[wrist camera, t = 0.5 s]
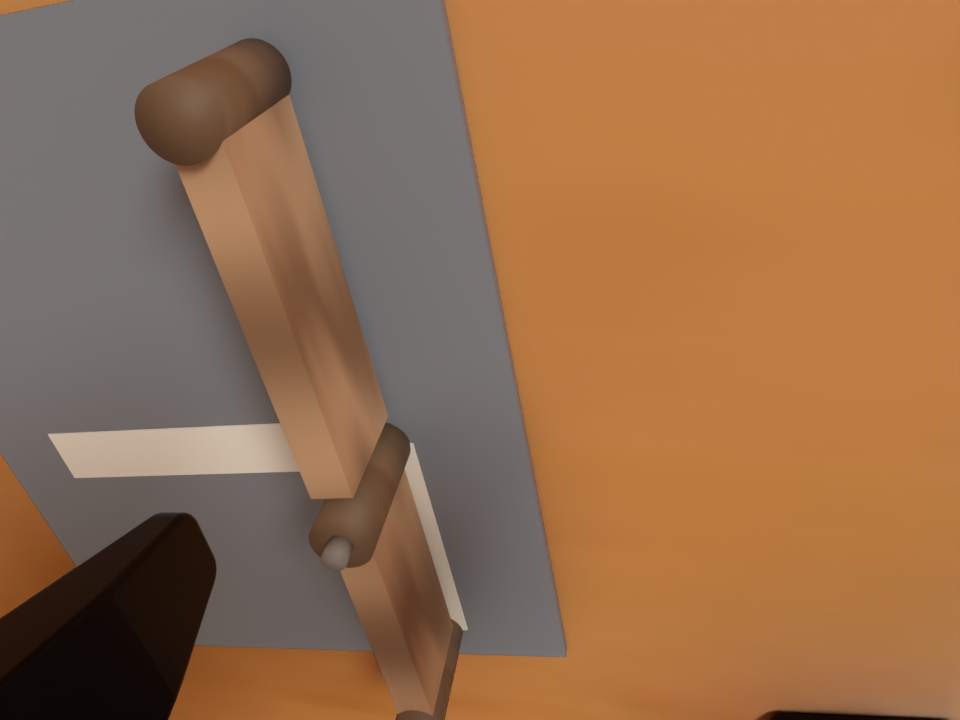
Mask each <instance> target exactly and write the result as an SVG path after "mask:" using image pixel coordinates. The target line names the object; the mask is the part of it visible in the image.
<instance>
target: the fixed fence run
mask: <svg viewBox="0 0 960 720" xmlns="http://www.w3.org/2000/svg"><path fill="white" fill-rule="evenodd" d="M410 451H411V447H410V441H409V439H408V437H407V436H406V434H405V433H404V432H403V431H402V430H400V429H399V428H398V427H396V426H394V425H392V424H389V423H385V425H384V427H383V430H382V432H381V434H380V437H379V439H378V441H377V444H376V446H375V448H374V451H373V453H372V455H371V458H370V460H369V462H368V465H367V467H366V469H365V472H364V474H363V476H362V479H361V481H360V483H359V486H358V488H357V490H356V492H355V495H354V497H353V498H335V499H325V500H324V502H323V504H322V507H321V509H320V511H319V513H318V515H317V517H316V519H315V521H314V524H313V526H312V528H311V530H310V532H309V537H308V539H309V543H310V546H311V548H312V549H313V551H314V552H315V553H316V554H317V555H318V556H319V557H320V558H321V562H322V564H323V565H324V566H325V567H326V568H328V569H330V570H333V571H340V572H341V574H342V577H343V579H344V582H345V584H346V586H347V589H348V591H349V594H350V596H351V599H352V601H353V604H354V606H355V609H356V611H357V614H358V616H359V619H360V621H361V623H362V626H363V628H364V631H365V633H366V636H367V638H368V641H369V643H370V646H371V648H372V651H373V653H374V655H375V658H376V660H377V663H378V665H379V668H380V670H381V673H382V675H383V678H384V680H385V683H386V685H387V687H388V690H389V692H390V695H391V697H392V700H393V702H394V705H395V707H396V710H397V712H398V713H397V716H396V720H445V715H446V710H447V706H448V701H449V696H450V692H451V687H452V682H453V678H454V673H455V668H456V664H457V659H458V654H459V650H460V645H461V640H462V636H463V630H462V628H461V626H460V625H459V624H458V623H457V622H456V621H454V620H452V619H451V618H450V615H449V611H448V608H447V605H446V602H445V598H444V595H443V592H442V589H441V585H440V582H439V579H438V576H437V572H436V569H435V566H434V563H433V559H432V556H431V553H430V550H429V546H428V543H427V540H426V537H425V533H424V530H423V527H422V524H421V521H420V517H419V514H418V511H417V508H416V504H415V501H414V498H413V495H412V491H411V488H410V485H409V482H408V478H407V475H406V472H405V466H406V463H407V460H408V458H409V455H410Z"/></svg>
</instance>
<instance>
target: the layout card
mask: <svg viewBox="0 0 960 720" xmlns="http://www.w3.org/2000/svg"><path fill="white" fill-rule="evenodd" d="M246 38H256V39H261V40H264V41H266V42H268V43H270V44H271V45H273V46H274V47H275V48H276V49H277V50H278V51H279V52H280V53H281V54H282V55H283V57H284V58H285V60H286V62H287V64H288V66H289V69H290V72H291V78H292V85H291V90H290V94H289V96H290V99H291V102H292V105H293V108H294V112H295V115H296V118H297V121H298V125H299V128H300V131H301V134H302V138H303V141H304V144H305V147H306V151H307V154H308V157H309V160H310V164H311V167H312V170H313V173H314V177H315V180H316V183H317V186H318V190H319V193H320V196H321V199H322V203H323V206H324V209H325V212H326V216H327V219H328V222H329V225H330V229H331V232H332V235H333V238H334V242H335V245H336V248H337V251H338V254H339V258H340V261H341V264H342V267H343V271H344V274H345V277H346V280H347V284H348V287H349V290H350V293H351V297H352V300H353V303H354V306H355V310H356V313H357V316H358V319H359V323H360V326H361V329H362V332H363V336H364V339H365V342H366V345H367V349H368V352H369V355H370V358H371V362H372V365H373V368H374V371H375V375H376V378H377V381H378V384H379V388H380V391H381V394H382V397H383V400H384V404H385V407H386V410H387V413H388V418H387V420H386V423H389V424H392V425H394V426H396V427H398V428H399V429H400V430H402V431H403V432H404V433H405V434H406V436H407V437H408V439H409V441H410V447H411V451H410V455H409V458H408V460H407V463H406V466H405V472H406V475H407V478H408V482H409V485H410V488H411V491H412V495H413V498H414V501H415V504H416V508H417V511H418V514H419V517H420V521H421V524H422V527H423V530H424V533H425V537H426V540H427V543H428V546H429V550H430V553H431V556H432V559H433V563H434V566H435V569H436V572H437V576H438V579H439V582H440V585H441V589H442V592H443V595H444V598H445V602H446V605H447V608H448V611H449V615H450V618H451V619H452V620H454V621H456V622H457V623H458V624H459V625H460V626H461V628H462V630H463V636H462V640H461V645H460V650H459V654H474V655H505V656H537V657H566V654H567V646H566V641H565V635H564V630H563V625H562V620H561V614H560V609H559V604H558V598H557V593H556V588H555V583H554V577H553V572H552V567H551V562H550V556H549V551H548V546H547V540H546V535H545V530H544V525H543V519H542V514H541V509H540V504H539V498H538V493H537V488H536V482H535V477H534V472H533V467H532V461H531V456H530V451H529V446H528V440H527V435H526V430H525V424H524V419H523V414H522V409H521V403H520V398H519V393H518V388H517V382H516V377H515V372H514V367H513V361H512V356H511V351H510V345H509V340H508V335H507V330H506V324H505V319H504V314H503V309H502V303H501V298H500V293H499V287H498V282H497V277H496V272H495V266H494V261H493V256H492V251H491V245H490V240H489V235H488V229H487V224H486V219H485V214H484V208H483V203H482V198H481V193H480V187H479V182H478V177H477V171H476V166H475V161H474V156H473V150H472V145H471V140H470V135H469V129H468V124H467V119H466V113H465V108H464V103H463V98H462V92H461V87H460V82H459V77H458V71H457V66H456V61H455V56H454V50H453V45H452V40H451V34H450V29H449V24H448V19H447V13H446V8H445V3H444V0H72V1H67V2H62V3H57V4H53V5H48V6H43V7H38V8H33V9H28V10H24V11H19V12H14V13H9V14H4V15H0V454H1V455H2V457H3V458H4V459H5V461H6V462H7V464H8V465H9V467H10V468H11V470H12V471H13V473H14V474H15V476H16V477H17V479H18V480H19V482H20V483H21V485H22V486H23V488H24V489H25V491H26V492H27V494H28V495H29V497H30V498H31V500H32V501H33V503H34V504H35V506H36V507H37V509H38V510H39V512H40V513H41V515H42V516H43V518H44V519H45V521H46V522H47V523H48V525H49V526H50V528H51V529H52V531H53V532H54V534H55V535H56V537H57V538H58V540H59V541H60V543H61V544H62V546H63V547H64V549H65V550H66V552H67V553H68V555H69V556H70V558H71V559H72V561H73V562H74V564H75V565H76V567H77V566H79V565H80V564H82V563H83V562H85V561H86V560H88V559H89V558H91V557H92V556H93V555H95V554H96V553H98V552H99V551H101V550H102V549H104V548H105V547H107V546H108V545H110V544H111V543H113V542H114V541H116V540H117V539H119V538H120V537H122V536H123V535H125V534H126V533H128V532H129V531H130V530H132V529H133V528H135V527H136V526H138V525H139V524H141V523H142V522H144V521H145V520H147V519H148V518H150V517H151V516H153V515H155V514H157V513H162V512H186V513H189V514H191V515H192V516H193V517H195V519H196V520H197V522H198V524H199V526H200V528H201V530H202V532H203V534H204V536H205V538H206V540H207V542H208V544H209V546H210V548H211V550H212V553H213V555H214V557H215V559H216V565H217V572H216V579H215V583H214V586H213V589H212V592H211V595H210V598H209V601H208V604H207V608H206V611H205V614H204V617H203V620H202V623H201V626H200V629H199V632H198V635H197V639H196V642H195V645H194V646H221V647H252V648H284V649H316V650H347V651H372V648H371V646H370V643H369V641H368V638H367V636H366V633H365V631H364V628H363V626H362V623H361V621H360V619H359V616H358V614H357V611H356V609H355V606H354V604H353V601H352V599H351V596H350V594H349V591H348V589H347V586H346V584H345V582H344V579H343V577H342V574H341V572H340V571H333V570H330V569H328V568H326V567H325V566H324V565H323V564H322V562H321V558H320V557H319V556H318V555H317V554H316V553H315V552H314V551H313V549H312V548H311V546H310V543H309V539H308V537H309V532H310V530H311V528H312V526H313V524H314V521H315V519H316V517H317V515H318V513H319V511H320V509H321V507H322V504H323V502H324V500H325V499H311V498H310V495H309V493H308V490H307V488H306V485H305V483H304V481H303V478H302V476H301V473H300V471H299V468H298V466H297V463H296V461H295V458H294V456H293V453H292V451H291V449H290V446H289V444H288V441H287V439H286V436H285V434H284V431H283V429H282V426H281V424H280V421H279V419H278V417H277V414H276V412H275V409H274V407H273V404H272V402H271V399H270V397H269V394H268V392H267V389H266V387H265V384H264V382H263V380H262V377H261V375H260V372H259V370H258V367H257V365H256V362H255V360H254V357H253V355H252V352H251V350H250V348H249V345H248V343H247V340H246V338H245V335H244V333H243V330H242V328H241V325H240V323H239V320H238V318H237V316H236V313H235V311H234V308H233V306H232V303H231V301H230V298H229V296H228V293H227V291H226V288H225V286H224V283H223V281H222V279H221V276H220V274H219V271H218V269H217V266H216V264H215V261H214V259H213V256H212V254H211V251H210V249H209V247H208V244H207V242H206V239H205V237H204V234H203V232H202V229H201V227H200V224H199V222H198V219H197V217H196V215H195V212H194V210H193V207H192V205H191V202H190V200H189V197H188V195H187V192H186V190H185V187H184V185H183V182H182V180H181V178H180V175H179V173H178V170H177V168H176V165H175V164H173V163H170V162H168V161H166V160H164V159H163V158H161V157H160V156H158V155H157V154H156V153H155V152H153V151H152V150H151V149H150V147H149V146H148V145H147V144H146V143H145V141H144V140H143V138H142V136H141V135H140V132H139V130H138V128H137V125H136V121H135V103H136V99H137V97H138V95H139V93H140V92H141V90H142V89H143V88H144V87H146V86H147V85H149V84H151V83H153V82H155V81H157V80H159V79H161V78H163V77H165V76H167V75H170V74H172V73H174V72H176V71H178V70H180V69H182V68H184V67H186V66H188V65H190V64H192V63H195V62H197V61H199V60H201V59H203V58H205V57H207V56H209V55H211V54H213V53H215V52H217V51H220V50H222V49H224V48H226V47H228V46H230V45H232V44H234V43H236V42H238V41H240V40H243V39H246Z"/></svg>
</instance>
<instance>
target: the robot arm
mask: <svg viewBox="0 0 960 720" xmlns="http://www.w3.org/2000/svg"><path fill="white" fill-rule="evenodd" d="M216 572H217V565H216V559H215V557H214V555H213V553H212V550H211V548H210V546H209V544H208V542H207V540H206V538H205V536H204V534H203V532H202V530H201V528H200V526H199V524H198V522H197V520H196V519H195V517H193V516H192V515H191V514H189V513H186V512H162V513H157V514H155V515H153V516H151V517H150V518H148V519H147V520H145V521H144V522H142V523H141V524H139V525H138V526H136V527H135V528H133V529H132V530H130V531H129V532H128V533H126V534H125V535H123V536H122V537H120V538H119V539H117V540H116V541H114V542H113V543H111V544H110V545H108V546H107V547H105V548H104V549H102V550H101V551H99V552H98V553H96V554H95V555H93V556H92V557H91V558H89V559H88V560H86V561H85V562H83V563H82V564H80V565H79V566H77V567H76V568H74V569H73V570H71V571H70V572H68V573H67V574H65V575H64V576H62V577H61V578H59V579H58V580H56V581H55V582H54V583H52V584H51V585H49V586H48V587H46V588H45V589H43V590H42V591H40V592H39V593H37V594H36V595H34V596H33V597H31V598H30V599H28V600H27V601H25V602H24V603H22V604H21V605H19V606H18V607H17V608H15V609H14V610H12V611H11V612H9V613H8V614H6V615H5V616H3V617H2V618H0V720H168V718H169V716H170V714H171V711H172V709H173V706H174V704H175V701H176V699H177V696H178V693H179V690H180V687H181V685H182V682H183V679H184V676H185V673H186V670H187V667H188V663H189V660H190V657H191V654H192V651H193V648H194V645H195V642H196V639H197V635H198V632H199V629H200V626H201V623H202V620H203V617H204V614H205V611H206V608H207V604H208V601H209V598H210V595H211V592H212V589H213V586H214V583H215V579H216ZM770 720H912V719H890V718H868V717H847V716H825V715H803V714H777V715H774V716H772V717H771V718H770Z"/></svg>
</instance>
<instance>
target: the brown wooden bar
mask: <svg viewBox="0 0 960 720" xmlns="http://www.w3.org/2000/svg"><path fill="white" fill-rule="evenodd" d="M291 85H292V78H291V72H290V69H289V66H288V64H287V62H286V60H285V58H284V57H283V55H282V54H281V53H280V52H279V51H278V50H277V49H276V48H275V47H274V46H273V45H271V44H270V43H268V42H266V41H264V40H261V39H256V38H246V39H243V40H240V41H238V42H236V43H234V44H232V45H230V46H228V47H226V48H224V49H222V50H220V51H217V52H215V53H213V54H211V55H209V56H207V57H205V58H203V59H201V60H199V61H197V62H195V63H192V64H190V65H188V66H186V67H184V68H182V69H180V70H178V71H176V72H174V73H172V74H170V75H167V76H165V77H163V78H161V79H159V80H157V81H155V82H153V83H151V84H149V85H147V86H146V87H144V88H143V89H142V90H141V92H140V93H139V95H138V97H137V99H136V103H135V121H136V125H137V128H138V130H139V132H140V135H141V136H142V138H143V140H144V141H145V143H146V144H147V145H148V146H149V147H150V149H151V150H152V151H153V152H155V153H156V154H157V155H158V156H160V157H161V158H163V159H164V160H166V161H168V162H170V163H173V164H175V165H176V168H177V170H178V173H179V175H180V178H181V180H182V182H183V185H184V187H185V190H186V192H187V195H188V197H189V200H190V202H191V205H192V207H193V210H194V212H195V215H196V217H197V219H198V222H199V224H200V227H201V229H202V232H203V234H204V237H205V239H206V242H207V244H208V247H209V249H210V251H211V254H212V256H213V259H214V261H215V264H216V266H217V269H218V271H219V274H220V276H221V279H222V281H223V283H224V286H225V288H226V291H227V293H228V296H229V298H230V301H231V303H232V306H233V308H234V311H235V313H236V316H237V318H238V320H239V323H240V325H241V328H242V330H243V333H244V335H245V338H246V340H247V343H248V345H249V348H250V350H251V352H252V355H253V357H254V360H255V362H256V365H257V367H258V370H259V372H260V375H261V377H262V380H263V382H264V384H265V387H266V389H267V392H268V394H269V397H270V399H271V402H272V404H273V407H274V409H275V412H276V414H277V417H278V419H279V421H280V424H281V426H282V429H283V431H284V434H285V436H286V439H287V441H288V444H289V446H290V449H291V451H292V453H293V456H294V458H295V461H296V463H297V466H298V468H299V471H300V473H301V476H302V478H303V481H304V483H305V485H306V488H307V490H308V493H309V495H310V498H311V499H335V498H353V497H354V495H355V492H356V490H357V488H358V486H359V483H360V481H361V479H362V476H363V474H364V472H365V469H366V467H367V465H368V462H369V460H370V458H371V455H372V453H373V451H374V448H375V446H376V444H377V441H378V439H379V437H380V434H381V432H382V430H383V427H384V425H385V423H386V420H387V418H388V413H387V410H386V407H385V404H384V400H383V397H382V394H381V391H380V388H379V384H378V381H377V378H376V375H375V371H374V368H373V365H372V362H371V358H370V355H369V352H368V349H367V345H366V342H365V339H364V336H363V332H362V329H361V326H360V323H359V319H358V316H357V313H356V310H355V306H354V303H353V300H352V297H351V293H350V290H349V287H348V284H347V280H346V277H345V274H344V271H343V267H342V264H341V261H340V258H339V254H338V251H337V248H336V245H335V242H334V238H333V235H332V232H331V229H330V225H329V222H328V219H327V216H326V212H325V209H324V206H323V203H322V199H321V196H320V193H319V190H318V186H317V183H316V180H315V177H314V173H313V170H312V167H311V164H310V160H309V157H308V154H307V151H306V147H305V144H304V141H303V138H302V134H301V131H300V128H299V125H298V121H297V118H296V115H295V112H294V108H293V105H292V102H291V99H290V96H289V94H290V90H291Z"/></svg>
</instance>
